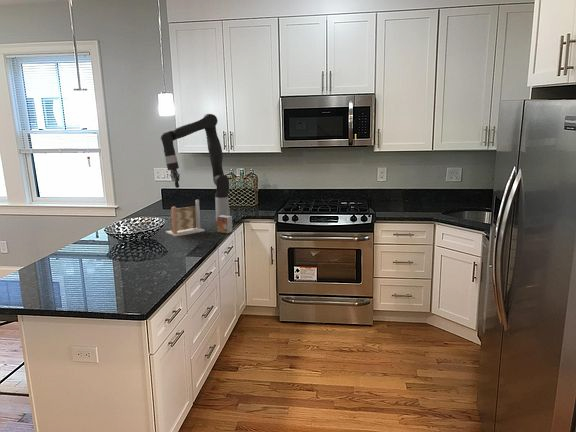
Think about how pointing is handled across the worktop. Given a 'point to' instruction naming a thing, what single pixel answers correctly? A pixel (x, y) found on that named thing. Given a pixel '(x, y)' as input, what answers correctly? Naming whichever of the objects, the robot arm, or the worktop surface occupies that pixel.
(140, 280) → the worktop surface
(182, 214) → the panel
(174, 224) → the gate frame
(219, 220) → the small box
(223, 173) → the robot arm
